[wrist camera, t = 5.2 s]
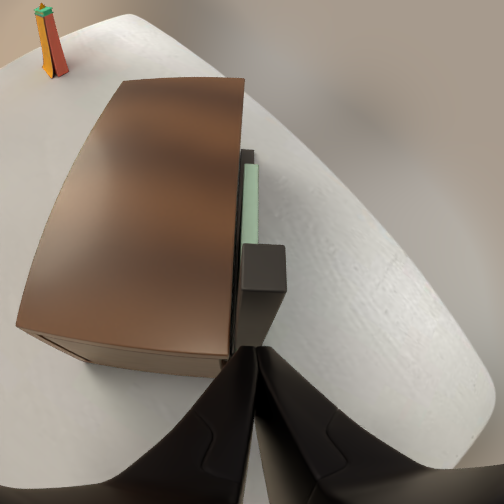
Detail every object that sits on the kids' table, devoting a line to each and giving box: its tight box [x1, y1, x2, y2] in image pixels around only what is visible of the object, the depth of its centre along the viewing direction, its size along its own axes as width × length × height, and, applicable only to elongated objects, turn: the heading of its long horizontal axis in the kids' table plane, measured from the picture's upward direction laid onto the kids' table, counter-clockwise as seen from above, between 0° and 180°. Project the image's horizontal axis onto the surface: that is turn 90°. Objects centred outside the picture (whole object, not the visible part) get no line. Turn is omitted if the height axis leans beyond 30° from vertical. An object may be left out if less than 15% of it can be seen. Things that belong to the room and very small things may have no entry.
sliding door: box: [235, 164, 287, 352], centre depth 15 cm, size 10×1×13 cm, turn 179°
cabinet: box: [16, 77, 254, 378], centre depth 19 cm, size 20×11×8 cm, turn 179°
